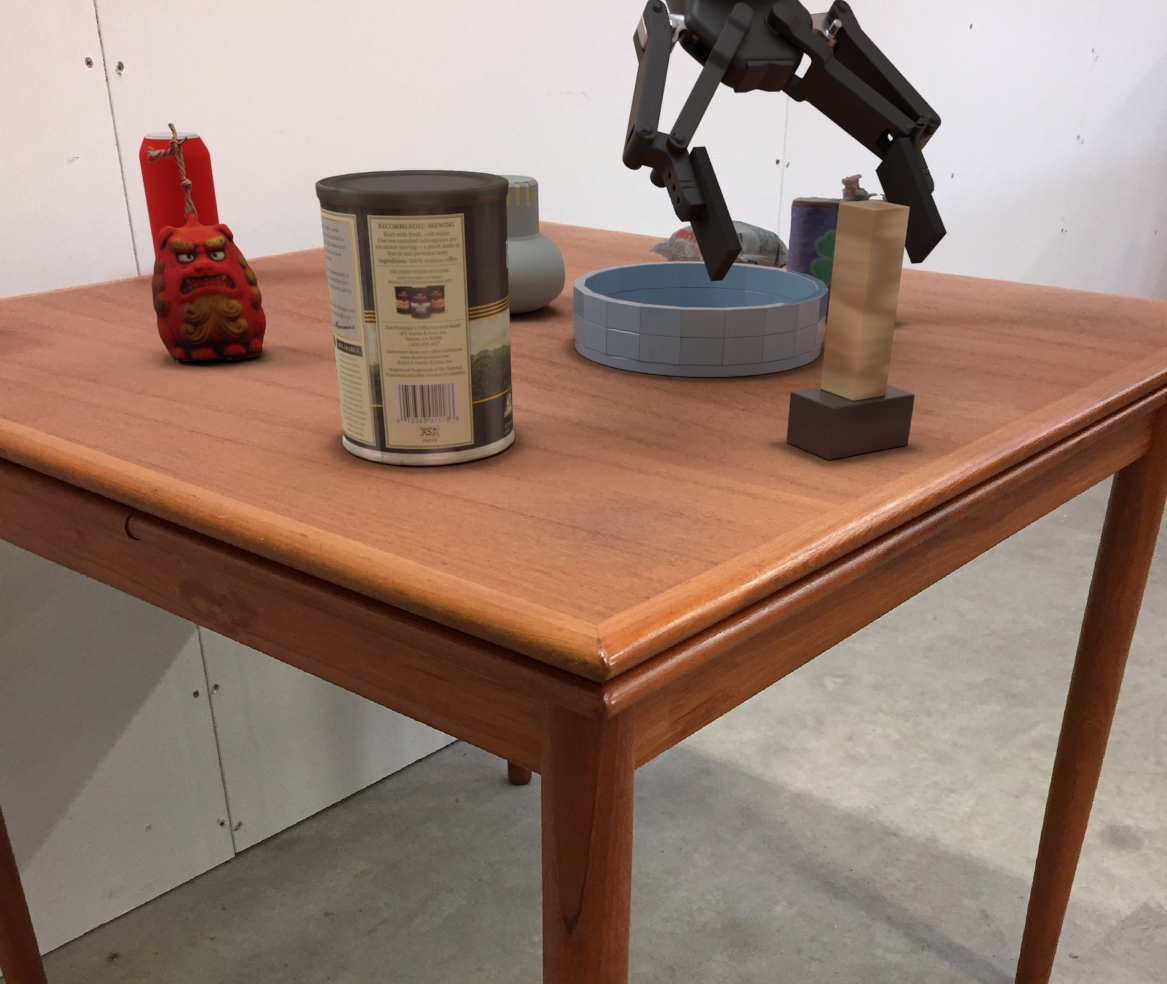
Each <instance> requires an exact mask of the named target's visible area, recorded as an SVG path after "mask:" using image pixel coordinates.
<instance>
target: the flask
mask: <svg viewBox="0 0 1167 984" xmlns="http://www.w3.org/2000/svg"><path fill="white" fill-rule="evenodd" d="M862 177H863V176H862V174H860V173H857V174H854V175H851V176H846V177H845V178H842V179H841V184H842V185H843V186H844V188H842V189H841V192H842V198H834V197H833V198H831V197H830V198H829V197H818V196H810V197H804V196H802V197H801V196H799V197H796V198H794V199H793V200H792V202H791V207H790V229H789V239H788V250H789V252H788V261H787V265H786V266H785V269H787V270H791V271H795V272H800V273H804V274H808V275H810V276H812V277H815V278H817V279H819V280H821V281H824V283H825V284H826V286H827V288H828V290H829V292H828V302H827V312H826V321H827V320H828V310H829V300H830V290H831V280H832V270H833V260H834V251H835V241H836V231H837V221H838V211H839V203H844V202H856V201H868V200H875V201H881V202H886V203H888V202H887V199H886V197H885V194H884V193H879V194H878V193H876V192H871V193H869V192H868V191H867V190H866V189H865V187H860V179H862ZM878 195H879V196H882V198H881V199H875V198H874V199H873V198H872V197H876V196H878Z"/></svg>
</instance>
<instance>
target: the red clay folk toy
mask: <svg viewBox="0 0 1167 984" xmlns="http://www.w3.org/2000/svg"><path fill="white" fill-rule="evenodd" d="M167 126H168V129H170V132H172V134H173V137H172V139H171V140H170V141H169V143H170V144H168V145H169V146H170V148H169V149H168V150H156V149H155V148H153V147H150V146H149V147H148V148H147V152H148V161H149V162H150V163H152V162H156V161H157V160H159V159H160V158H162V157H168V156H171V155H173V156H174V158H175V160H176V163H177V166H178V169H179V173H180V177H181V180H182V183H181V186H182V189H183V192H184V194H185V218H186V220H187V223H186V225H184V226H183V227H181V228H173V227H171V226H167V227H164V228H162V229H161V230H160V233H159V237H158V242H159V250H158V252H157V255H156V258H155V257H154V258H155V259H154V264H153V275H152V281H151V293H152V294H151V295H152V304H153V309H154V312H155V313H156V314H155V315H156V326H157V331H158V334H159V338H160V339H161V341H162V343H163V345H164V346H165V349H166V350H167V352H168V354H169V355H170V357H171V358H172V360H174V361H178V362H179V363H183V362H187V361H188V362H193V361H203V362H208V360H209V361H210V360H215V359H216V360H217V359H226V360H228V361H239V360H244V359H249V358H254V357H257V356H259V355H262V354H263V345H264V339H265V335H266V328H267V318H266V317H267V316H266V313H265V311H264V307H263V306H262V302H263V296H262V292H261V290H260V288H259V286H258V279H257V276H256V274H255V272H254V271H253V269H252V268H251V266H250V265H249V263H248V261H247V259H246V257H245V256H244V254H243V253H242V251H241V250H240V248H239V247H238V246H237V244H236V243H235V242H234V234H233V233H232V230H231V228H230V227H229V226H228V225H227V224H225V223H219V224H216V225H213V226H204V225H201V224H200V223H199V222H198V215H197V212H196V210H195V207H194V205H193V202H192V200H191V197H190V192H191V190H192V183H191V181H189V180H188V179H187V178H186V173H185V166H184V160H183V155H182V149H181V145H182V144H183V143H185V142H186V140H187V137H185V138H184V139H183V140H182V141H181V142H180V143H179V142H177V133H176V132H177V129H176V127H175V125H174V123H171V122H169V123H168V124H167Z"/></svg>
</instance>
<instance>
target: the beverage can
mask: <svg viewBox="0 0 1167 984" xmlns="http://www.w3.org/2000/svg"><path fill="white" fill-rule="evenodd" d="M176 133H177V142H179V143H180V142H181V141H182V140H183V139H184V138H185V137H187V140H186V142H185V143H183V144H182V145H181V149H182V155H183V160H184V166H185V173H186V178H187V179H188V180H189V181H191V183H192V190H191V192H190V197H191V200H192V202H193V205H194V207H195V210H196V212H197V215H198V222H199V223H200V224H201V225H204V226H213V225H216V224H220V219H219V211H218V205H217V196H216V189H215V182H214V181H215V180H214V173H213V166H212V159H211V154H210V151H209V149H208V147H207V145H206V144H205V142H204V141H203V139H202V138H201V136H200V135H198V134H197V133H196V132H192V131H191V132H190V131H176ZM172 137H173V134H172V131H159V132H150V133H146V135H145V136H143V139H142V141H141V145H140V148H139V151H138V160H139V165H140V171H141V172H140V173H141V179H142V183H143V184H142V185H143V190H144V196H145V202H146V209H147V214H148V222H149V226H150V233H151V234H150V235H151V239H152V246H153V251H154V258H156V255H157V252H158V250H159V242H158V237H159V233H160V230H161V229H162V228H164V227H167V226H171V227H173V228H181V227H183V226H184V225H186V223H187V220H186V218H185V194H184V192H183V189H182V186H181V183H182V180H181V177H180V173H179V169H178V166H177V163H176V160H175V158H174V156H173V155H171V156H168V157H162V158H160V159H159V160H157V161H156V162H152V163H150V162H149V161H148V152H147V148H148V147H149V146H150V147H153V148H155V149H156V150H168V149H169V148H170V146H169V145H168V144H170V143H169V141H170V140H171V139H172Z"/></svg>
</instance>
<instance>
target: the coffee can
mask: <svg viewBox="0 0 1167 984" xmlns="http://www.w3.org/2000/svg"><path fill="white" fill-rule="evenodd" d="M499 175H500V174H494V173H488V172H479V171H470V170H469V171H467V170H453V169H450V170H449V169H399V170H398V169H397V170H395V169H394V170H375V171H361V172H352V173H344V174H338V175H332V176H327V177H324V178H321V179H319V180H317V181H316V182H315V183H314V186H315V187H314V188H315V195H316V197H317V199H318V201H319V209H320V219H321V220H320V221H321V228H322V238H323V239H322V240H323V248H324V258H325V267H326V277H327V278H326V279H327V287H328V297H329V307H330V316H331V327H332V337H333V346H334V356H335V366H336V375H337V385H338V386H337V387H338V395H339V397H338V398H339V407H340V417H341V425H342V426H341V429H342V438H341V439H342V445H343V447H344V448H345V450H347V452H349V453H350V454H352V455H354V456H357V457H359V458H362V459H365V460H368V461H372V462H378V463H383V464H389V465H395V466H396V465H397V466H441V465H449V464H450V465H451V464H459V463H465V462H471V461H476V460H479V459H483V458H487V457H490V456H493V455H496V454H499V453H500V452H503V451H504V450H506V449H508V448H509V447H510V446H511V445H512V444H513V443H514V442H515V437H516V434H515V430H514V413H513V412H514V411H513V408H514V407H513V382H512V355H511V354H512V353H511V351H512V349H511V321H510V320H511V317H510V314H509V281H508V276H509V271H508V242H507V195H508V189H509V182H508V180H507V179H506V178H504V177H502V176H499Z"/></svg>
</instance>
